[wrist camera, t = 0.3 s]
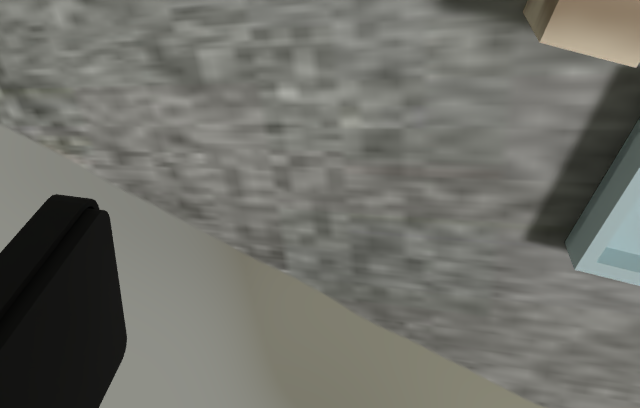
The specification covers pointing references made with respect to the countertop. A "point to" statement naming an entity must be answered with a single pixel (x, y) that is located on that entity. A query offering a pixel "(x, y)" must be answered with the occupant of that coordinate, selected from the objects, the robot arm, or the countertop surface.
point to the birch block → (589, 27)
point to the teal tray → (612, 220)
